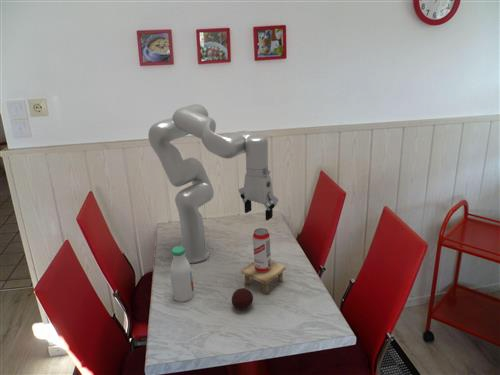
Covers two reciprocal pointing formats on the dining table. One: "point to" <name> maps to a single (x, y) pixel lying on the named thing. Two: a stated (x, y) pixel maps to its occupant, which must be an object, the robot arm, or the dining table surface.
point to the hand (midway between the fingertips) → (258, 215)
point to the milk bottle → (181, 275)
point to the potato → (242, 298)
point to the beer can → (261, 250)
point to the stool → (263, 274)
